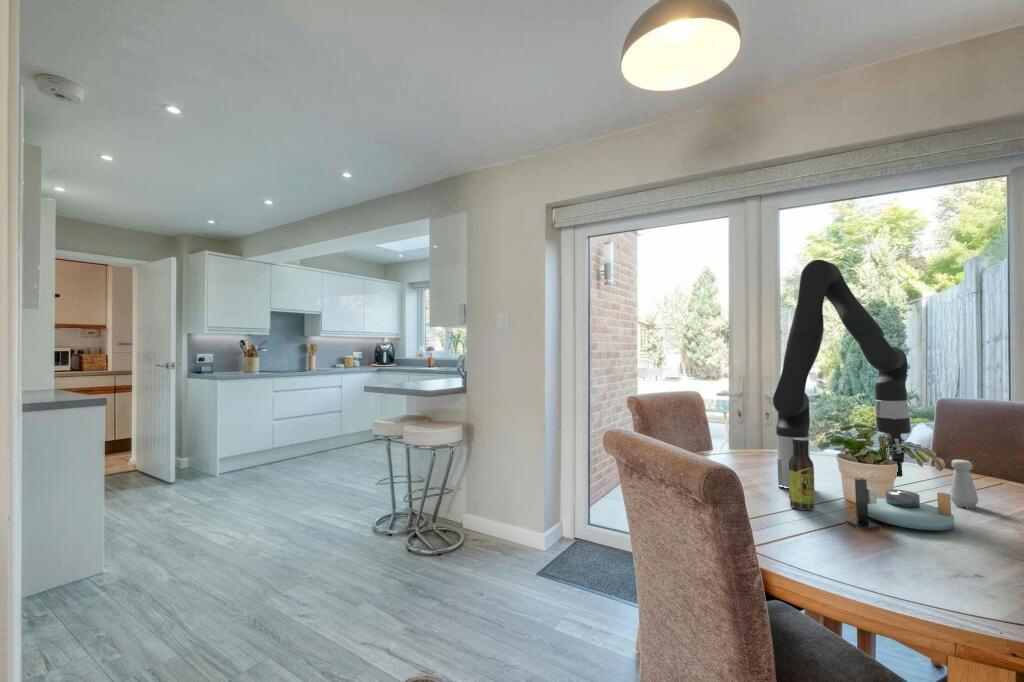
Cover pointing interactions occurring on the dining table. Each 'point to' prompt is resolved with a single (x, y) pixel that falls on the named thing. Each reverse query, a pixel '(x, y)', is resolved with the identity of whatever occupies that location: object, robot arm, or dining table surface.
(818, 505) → the dining table surface
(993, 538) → the dining table surface
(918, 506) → the cover
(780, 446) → the robot arm
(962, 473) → the salt shaker
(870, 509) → the turntable
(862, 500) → the post
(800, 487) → the sauce bottle
